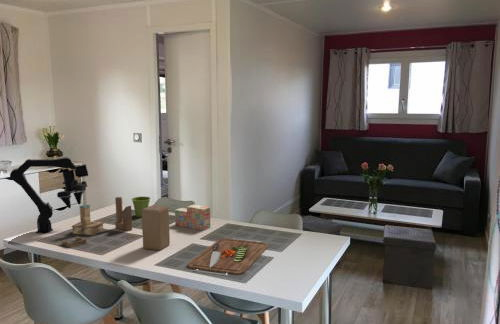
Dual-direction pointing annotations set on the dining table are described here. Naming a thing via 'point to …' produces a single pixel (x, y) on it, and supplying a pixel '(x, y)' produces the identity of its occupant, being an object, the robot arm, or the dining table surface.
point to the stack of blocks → (193, 217)
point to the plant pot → (140, 204)
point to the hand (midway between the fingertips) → (74, 206)
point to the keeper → (78, 242)
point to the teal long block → (85, 215)
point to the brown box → (88, 228)
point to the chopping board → (228, 256)
